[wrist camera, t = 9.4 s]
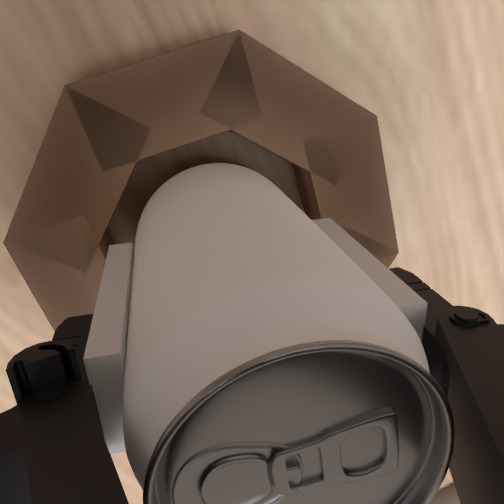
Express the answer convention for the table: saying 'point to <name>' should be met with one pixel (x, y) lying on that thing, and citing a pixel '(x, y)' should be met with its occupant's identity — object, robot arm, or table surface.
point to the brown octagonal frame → (178, 134)
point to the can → (269, 359)
